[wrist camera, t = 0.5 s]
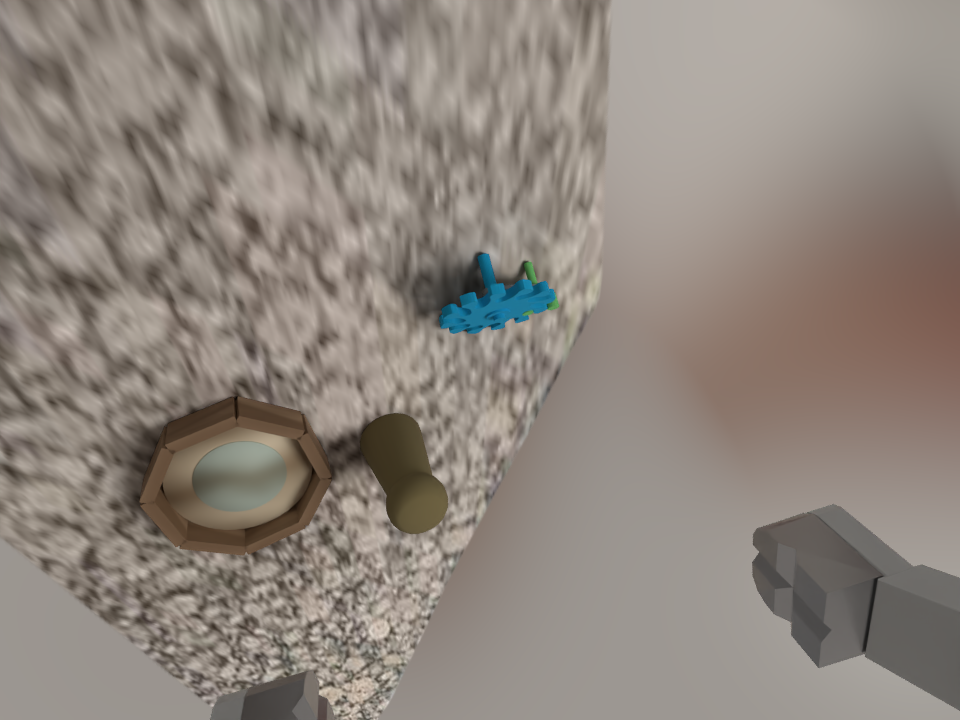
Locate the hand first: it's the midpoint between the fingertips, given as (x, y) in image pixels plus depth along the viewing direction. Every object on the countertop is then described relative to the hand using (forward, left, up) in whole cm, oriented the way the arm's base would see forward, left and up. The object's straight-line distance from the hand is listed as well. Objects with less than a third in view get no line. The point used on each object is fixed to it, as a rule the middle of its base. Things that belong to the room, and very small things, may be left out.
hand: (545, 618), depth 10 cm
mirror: (+22, -15, -39) cm, 47 cm away
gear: (+15, +11, -39) cm, 43 cm away
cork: (+26, -2, -39) cm, 47 cm away
